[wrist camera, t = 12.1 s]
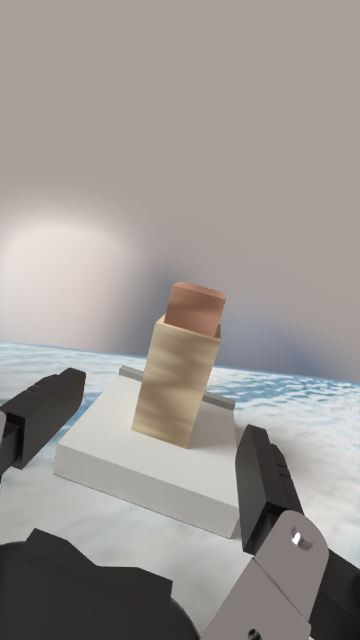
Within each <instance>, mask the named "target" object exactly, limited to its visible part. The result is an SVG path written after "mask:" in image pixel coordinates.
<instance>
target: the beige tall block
mask: <svg viewBox="0 0 360 640" xmlns="http://www.w3.org/2000/svg"><path fill="white" fill-rule="evenodd" d="M225 300H226V298H225V293H223V292H219V291H215V290H212V289H208V288H205V287H201V286H197V285H194V284H190V283H186V282H183V281H181V282H178V283H176V284H174V285H173V286H172V290H171V294H170V298H169V302H168V306H167V311H166V314H165V315H164V316H162V317H161V318H160V319H159V320H158V321H157V322H156V323H155V328H154V332H153V336H152V340H151V345H150V349H149V353H148V358H147V362H146V366H145V371H144V375H143V379H142V384H141V388H140V392H139V397H138V401H137V405H136V410H135V414H134V418H133V423H132V427H131V430H132V431H135V432H138V433H141V434H144V435H147V436H150V437H153V438H155V439H158V440H161V441H164V442H167V443H170V444H173V445H175V446H178V447H181V448H184V449H186V448H187V445H188V442H189V438H190V435H191V432H192V429H193V426H194V423H195V420H196V417H197V413H198V410H199V407H200V404H201V401H202V398H203V395H204V392H205V388H206V385H207V382H208V379H209V376H210V373H211V370H212V367H213V363H214V360H215V357H216V354H217V351H218V347H219V345H220V324H218V323H219V320H220V317H221V313H222V310H223V307H224V304H225Z"/></svg>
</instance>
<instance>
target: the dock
mask: <svg viewBox="0 0 360 640" xmlns="http://www.w3.org/2000/svg"><path fill="white" fill-rule="evenodd" d="M143 375H144V372H143V371H140V370H137V369H134V368H130V367H127V366H124V365H123V366H122V367H121V368H120V370H119V375H118V376H117V377H116V378H115V379H114V380H113V381H112V383H111V384H110V385H109V386H108V387H107V388H106V389H105V390H104V392H103V393H102V394H101V395H100V396H99V397H98V398H97V399H96V401H95V402H94V403H93V404H92V405H91V406H90V407H89V408H88V409H87V411H86V412H85V413H84V414H83V415H82V416H81V417H80V418H79V420H78V421H77V422H76V423H75V424H74V425H73V426H72V427H71V428H70V430H69V431H68V432H67V433H66V434H65V435H64V436H63V437H62V439H61V440H60V441H59V442H58V443H57V450H56V458H55V466H54V473H53V474H55V475H58V476H61V477H64V478H66V479H69V480H72V481H74V482H77V483H80V484H83V485H85V486H88V487H91V488H93V489H96V490H99V491H102V492H104V493H107V494H110V495H112V496H115V497H118V498H120V499H123V500H126V501H129V502H131V503H134V504H137V505H139V506H142V507H145V508H148V509H150V510H153V511H156V512H158V513H161V514H164V515H166V516H169V517H172V518H175V519H177V520H180V521H183V522H185V523H188V524H191V525H194V526H196V527H199V528H202V529H204V530H207V531H210V532H212V533H215V534H218V535H221V536H223V537H226V538H229V539H230V538H231V535H232V533H233V531H234V529H235V526H236V524H237V522H238V520H239V517H240V514H239V503H238V493H237V482H236V471H235V457H236V453H237V444H236V435H235V425H234V415H233V410H234V407H235V400H232V399H229V398H226V397H223V396H220V395H216V394H213V393H210V392H207V391H205V392H204V395H203V398H202V401H201V404H200V407H199V410H198V413H197V417H196V420H195V423H194V426H193V429H192V432H191V435H190V438H189V442H188V445H187V448H186V449H184V448H181V447H178V446H175V445H173V444H170V443H167V442H164V441H161V440H158V439H155V438H153V437H150V436H147V435H144V434H141V433H138V432H135V431H132V430H131V427H132V423H133V418H134V414H135V410H136V405H137V401H138V397H139V392H140V388H141V384H142V379H143Z"/></svg>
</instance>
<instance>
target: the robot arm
mask: <svg viewBox="0 0 360 640" xmlns="http://www.w3.org/2000/svg"><path fill="white" fill-rule="evenodd" d="M85 378H86V373H85V372H83V371H80V370H77V369H74V368H68V369H66V370H65V371H63V372H62V373H61V374H59V375H57V374H54V375H51V376H48V377H45V378H43V379H41V380H40V381H38V382H37V383H35V384H34V385H32V386H31V387H29V388H28V389H27V390H26V391H25V390H24V391H23V392H21V393H20V394H18V395H17V396H15V397H14V398H12V399H11V400H9V401H8V402H6V403H5V404H3V405H2V406H0V492H1V486H2V481H3V473H4V472H5V471H6V470H7V469H8V468H9V467H10V466H12V467H15V468H18V469H20V470H22V469H23V468H24V467H25V466H26V465H27V464H28V462H29V461H30V460H31V459H32V458H33V457H34V456H35V455H36V454H37V453H38V452H39V451H40V450H41V449H42V448H43V447H44V446H45V444H46V443H47V442H48V441H49V440H50V439H51V438H52V437H53V436H54V435H55V434H56V433H57V432H58V431H59V430H60V429H61V428H62V426H63V425H64V424H65V423H66V422H67V421H68V420H69V419H70V418H71V417H72V416H73V415H74V414H75V413H76V411H77V410H78V408H79V407H80V405H81V402H82V398H83V391H84V385H85ZM287 468H288V467H287V464H286V461H285V458H284V456H283V454H282V453H281V452H280V450H279V449H278V448H277V446H276V445H274V444H271V443H270V442H269V438H268V435H267V432H266V430H265V429H262V428H259V427H256V426H253V425H250V424H248V425H247V427H246V429H245V432H244V434H243V437H242V439H241V442H240V444H239V447H238V449H237V453H236V457H235V471H236V482H237V493H238V503H239V514H240V525H241V536H242V546H243V552H246V553H249V554H252V555H254V557H253V558H252V559H251V560H250V562H249V563H248V565H247V566H246V568H245V570H244V571H243V573H242V574H241V576H240V577H239V579H238V581H237V582H236V584H235V585H234V587H233V588H232V590H231V592H230V593H229V595H228V596H227V598H226V600H225V601H224V603H223V604H222V606H221V607H220V609H219V611H218V612H217V614H216V615H215V617H214V619H213V620H212V622H211V623H210V625H209V626H208V628H207V630H206V631H205V633H204V634H203V636H202V637H200V635H199V633H198V631H197V629H196V628H195V626H194V624H193V622H192V621H191V619H190V618H189V616H188V615H187V614H186V612H185V611H184V610H183V609H182V607H181V606H180V605H179V604H178V603H177V602H176V601H175V600H174V599H173V598H171V590H172V583H173V581H172V580H169V579H167V578H164V577H161V576H159V575H156V574H154V573H151V572H148V571H146V570H143V569H141V568H138V567H101V566H97V565H95V564H94V563H92V562H91V561H90V560H89V559H88V558H87V557H86V556H84V555H83V554H82V553H81V552H80V551H79V550H78V549H76V548H75V547H74V546H73V545H72V544H71V543H70V542H68V541H67V540H65V539H62V538H60V537H57V536H54V535H52V534H49V533H47V532H44V531H41V530H39V529H36V528H34V530H33V531H32V533H31V534H30V536H29V537H28V538H27V540H26V541H20V542H11V543H7V544H2V545H0V640H308V639H309V636H310V637H312V638H313V639H314V640H360V569H358V568H357V567H355V566H354V565H352V564H351V563H349V562H348V561H346V560H345V559H343V558H342V557H340V556H339V555H337V554H336V553H334V552H333V551H332V550H330V549H329V548H328V546H327V543H326V541H325V539H324V537H323V535H322V534H321V532H320V531H319V529H318V528H317V527H316V526H315V525H314V524H313V523H312V522H311V521H310V520H309V519H308V518H307V517H305V515H304V513H303V510H302V507H301V504H300V501H299V498H298V495H297V493H296V490H295V487H294V484H293V481H292V479H291V475H290V473H289V470H288V469H287Z"/></svg>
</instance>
